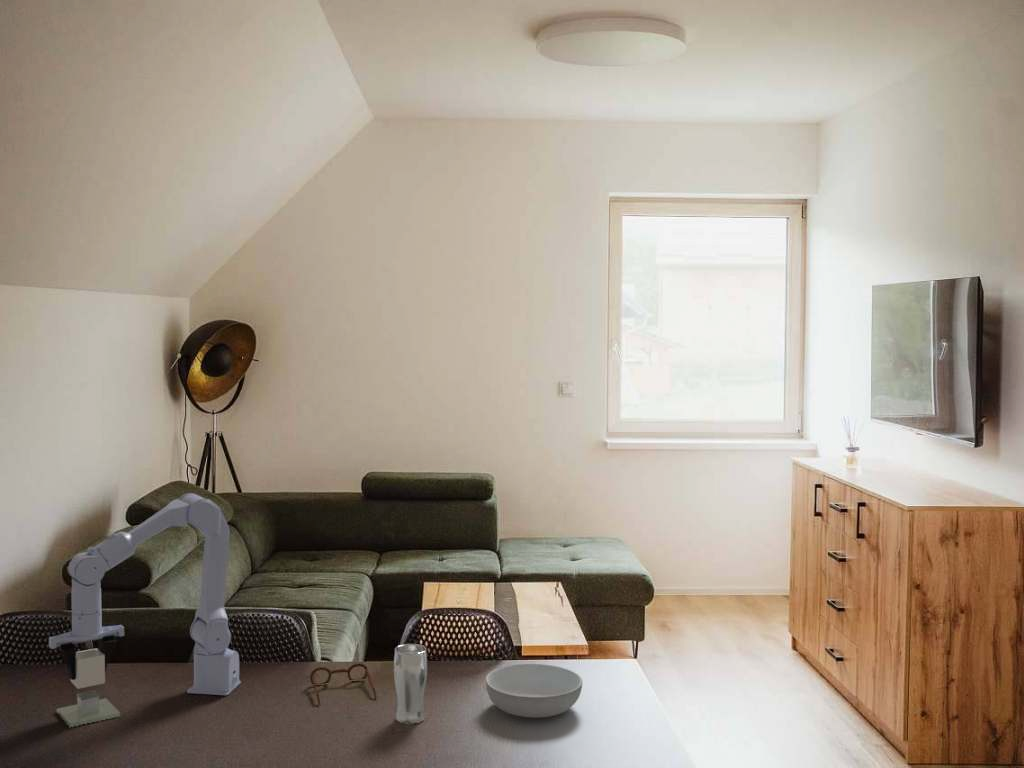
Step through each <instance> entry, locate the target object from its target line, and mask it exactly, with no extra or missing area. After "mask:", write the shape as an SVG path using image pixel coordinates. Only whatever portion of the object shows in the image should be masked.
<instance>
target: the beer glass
mask: <svg viewBox="0 0 1024 768" xmlns="http://www.w3.org/2000/svg"><path fill="white" fill-rule="evenodd" d="M427 676H428V656H427V647H426V646H425V645H422V644H418V643H405V644H400V645H398V646H396V647H395V648H394V657H393V678H394V685H395V693H396V699H397V709H396V714H395V721H396V720H397V721H399V722H401V723H408V724H407V725H413V724H412V723H417V722H420V723H422V722H424V721H425V719H426V715H425V710H424V695H425V690H426V685H427V678H428V677H427ZM423 720H424V721H423ZM397 721H396V722H397ZM421 721H422V722H421ZM399 722H398V723H399ZM401 723H400V724H401ZM417 724H418V723H417Z"/></svg>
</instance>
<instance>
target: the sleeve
mask: <svg viewBox="0 0 1024 768" xmlns="http://www.w3.org/2000/svg"><path fill="white" fill-rule="evenodd" d="M75 669H76V679H75V680H72V679H71V678H70V682H71V683H72V684H73V685H74V687H75V688H76V689H78V690H79V689H84V688H89V687H94V686H97V685H103V684H106V673H105V655H104V654H103V653H102V652H101V651H100V650H99V648H91V649H85V650H78V651H76V659H75Z"/></svg>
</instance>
